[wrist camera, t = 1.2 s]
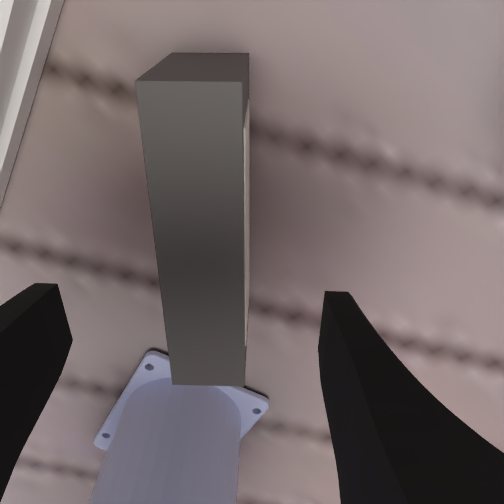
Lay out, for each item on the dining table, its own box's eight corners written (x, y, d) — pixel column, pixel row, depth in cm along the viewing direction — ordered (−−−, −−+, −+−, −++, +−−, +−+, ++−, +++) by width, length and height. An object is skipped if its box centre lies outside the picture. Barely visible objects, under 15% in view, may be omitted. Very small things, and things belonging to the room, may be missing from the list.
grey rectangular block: (249, 299, 24) (245, 386, 19) (191, 298, 24) (170, 384, 19) (250, 52, 18) (244, 81, 13) (171, 52, 18) (133, 81, 13)
